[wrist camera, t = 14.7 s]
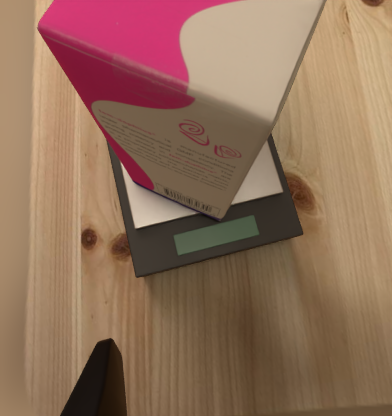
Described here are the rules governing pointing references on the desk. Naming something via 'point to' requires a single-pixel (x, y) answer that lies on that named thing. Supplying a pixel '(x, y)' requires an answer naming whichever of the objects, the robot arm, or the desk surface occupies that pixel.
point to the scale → (206, 218)
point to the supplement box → (183, 84)
